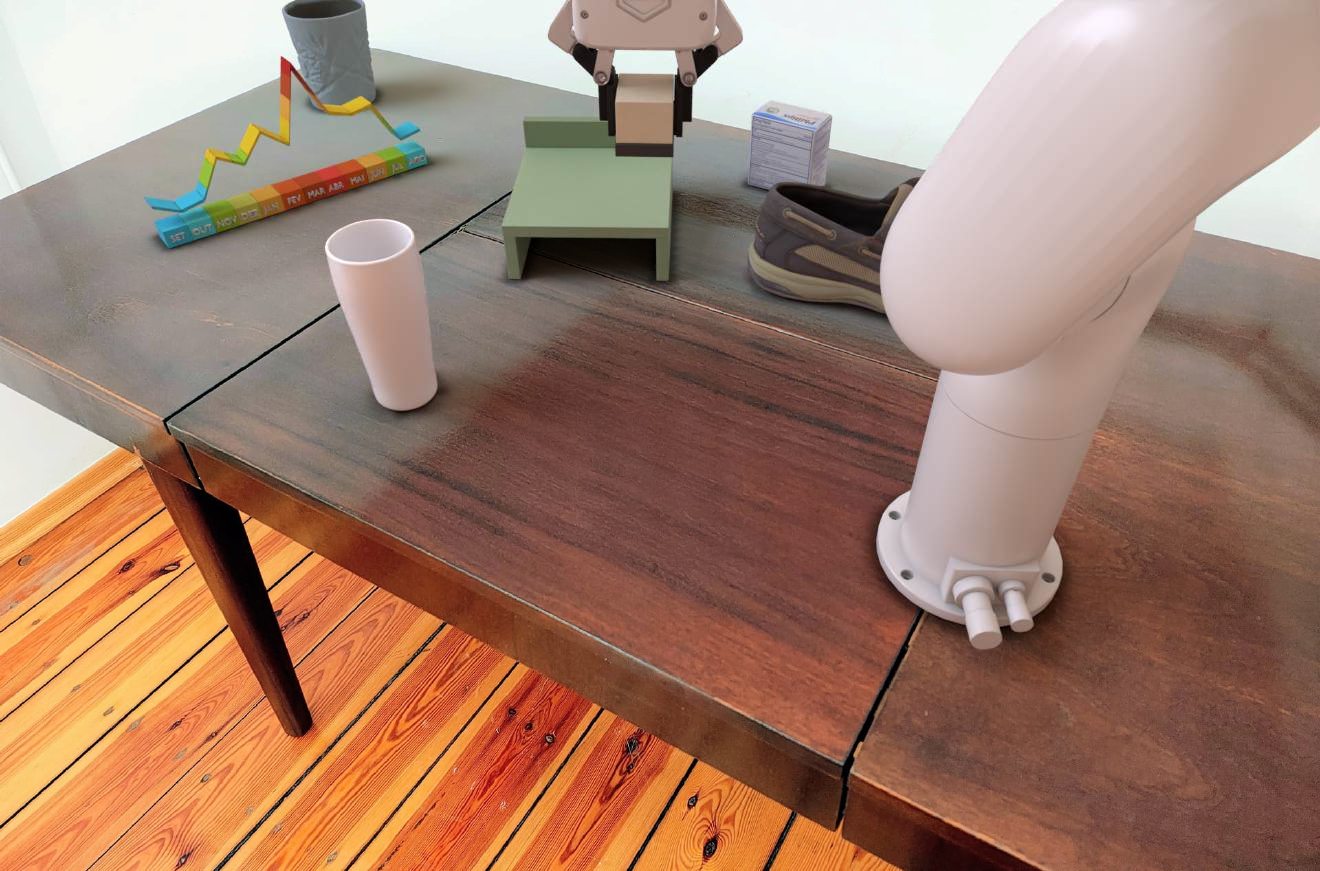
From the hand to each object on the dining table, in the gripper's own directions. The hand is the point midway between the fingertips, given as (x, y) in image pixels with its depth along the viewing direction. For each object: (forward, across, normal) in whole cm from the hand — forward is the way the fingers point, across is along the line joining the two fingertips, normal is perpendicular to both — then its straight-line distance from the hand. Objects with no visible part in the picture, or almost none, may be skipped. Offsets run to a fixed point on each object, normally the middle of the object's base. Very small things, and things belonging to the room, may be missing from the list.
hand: (646, 127), depth 73 cm
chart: (+21, -40, +25) cm, 51 cm away
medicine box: (+20, +15, +28) cm, 38 cm away
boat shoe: (+20, +24, +6) cm, 32 cm away
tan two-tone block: (+1, 0, 0) cm, 1 cm away
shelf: (+20, -6, +18) cm, 27 cm away
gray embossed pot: (+21, -43, +53) cm, 71 cm away
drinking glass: (+20, -20, -9) cm, 30 cm away
